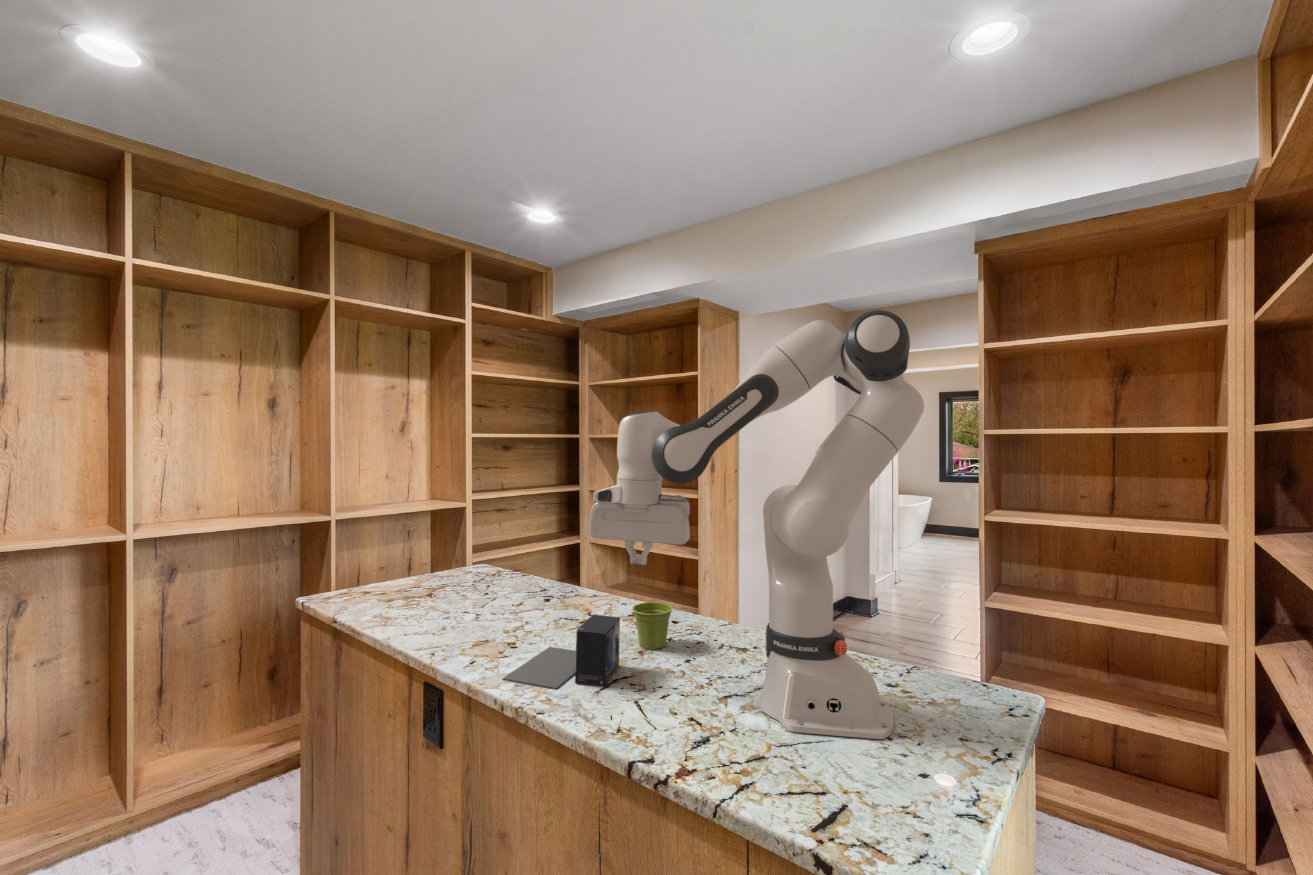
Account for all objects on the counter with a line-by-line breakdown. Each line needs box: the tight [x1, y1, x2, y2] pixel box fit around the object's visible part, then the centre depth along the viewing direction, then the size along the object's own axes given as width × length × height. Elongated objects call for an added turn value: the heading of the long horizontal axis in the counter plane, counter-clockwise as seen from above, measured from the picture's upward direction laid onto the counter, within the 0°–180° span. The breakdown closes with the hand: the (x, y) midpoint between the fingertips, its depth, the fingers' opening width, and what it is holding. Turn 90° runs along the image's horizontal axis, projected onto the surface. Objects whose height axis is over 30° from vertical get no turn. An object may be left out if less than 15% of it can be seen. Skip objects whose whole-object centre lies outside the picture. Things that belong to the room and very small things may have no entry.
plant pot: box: [631, 601, 674, 651], centre depth 131 cm, size 9×9×9 cm
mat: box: [501, 646, 576, 690], centre depth 118 cm, size 12×18×1 cm, turn 160°
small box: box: [574, 614, 621, 687], centre depth 114 cm, size 11×6×10 cm, turn 168°
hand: (638, 564), depth 112 cm, fingers closed
